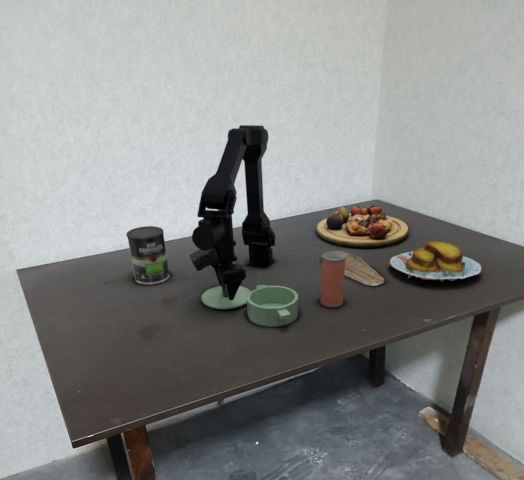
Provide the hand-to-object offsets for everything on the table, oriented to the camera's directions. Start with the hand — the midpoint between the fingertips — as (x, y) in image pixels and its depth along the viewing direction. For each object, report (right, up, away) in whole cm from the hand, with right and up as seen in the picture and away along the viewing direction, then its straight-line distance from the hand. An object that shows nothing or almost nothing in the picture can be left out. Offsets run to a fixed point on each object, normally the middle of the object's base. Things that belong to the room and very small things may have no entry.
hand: (226, 292), depth 129 cm
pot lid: (0, -1, +1) cm, 1 cm away
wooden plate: (+45, +26, +42) cm, 67 cm away
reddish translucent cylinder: (+28, -3, -3) cm, 28 cm away
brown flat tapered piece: (+37, +9, +15) cm, 41 cm away
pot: (+12, -6, -7) cm, 15 cm away
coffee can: (-23, +6, +15) cm, 28 cm away
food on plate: (+60, +7, +12) cm, 61 cm away
